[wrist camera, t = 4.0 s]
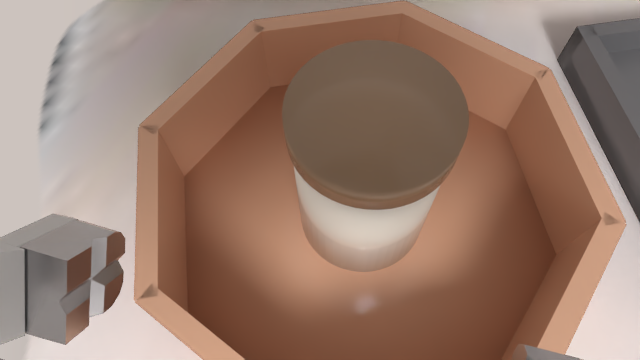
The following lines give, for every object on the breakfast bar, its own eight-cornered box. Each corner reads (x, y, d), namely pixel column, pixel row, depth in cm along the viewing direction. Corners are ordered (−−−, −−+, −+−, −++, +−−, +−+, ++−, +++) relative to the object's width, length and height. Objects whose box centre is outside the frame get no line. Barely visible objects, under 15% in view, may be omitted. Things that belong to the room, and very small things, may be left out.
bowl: (481, 58, 28) (510, -14, 23) (617, 388, 19) (701, 374, 15) (172, 101, 27) (140, 34, 22) (177, 467, 18) (129, 476, 14)
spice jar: (407, 151, 24) (440, 29, 17) (439, 264, 21) (494, 176, 14) (290, 168, 23) (272, 52, 16) (307, 285, 21) (294, 206, 14)
